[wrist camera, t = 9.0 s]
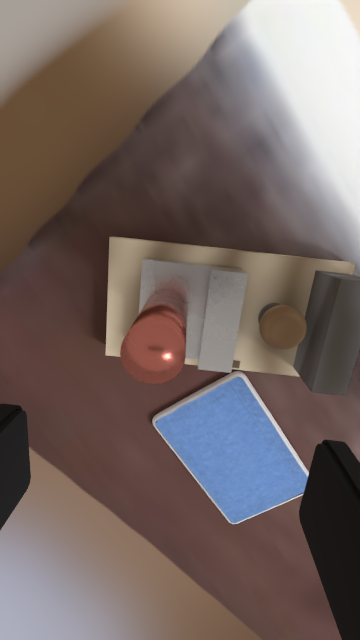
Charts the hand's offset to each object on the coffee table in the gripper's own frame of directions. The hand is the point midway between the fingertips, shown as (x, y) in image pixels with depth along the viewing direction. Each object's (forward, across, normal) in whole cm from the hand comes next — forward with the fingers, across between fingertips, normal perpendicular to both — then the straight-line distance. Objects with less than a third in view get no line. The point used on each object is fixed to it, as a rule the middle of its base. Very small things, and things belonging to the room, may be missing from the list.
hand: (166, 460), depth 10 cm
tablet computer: (+24, -8, +18) cm, 31 cm away
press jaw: (+21, 0, 0) cm, 21 cm away
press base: (+23, -4, 0) cm, 23 cm away
